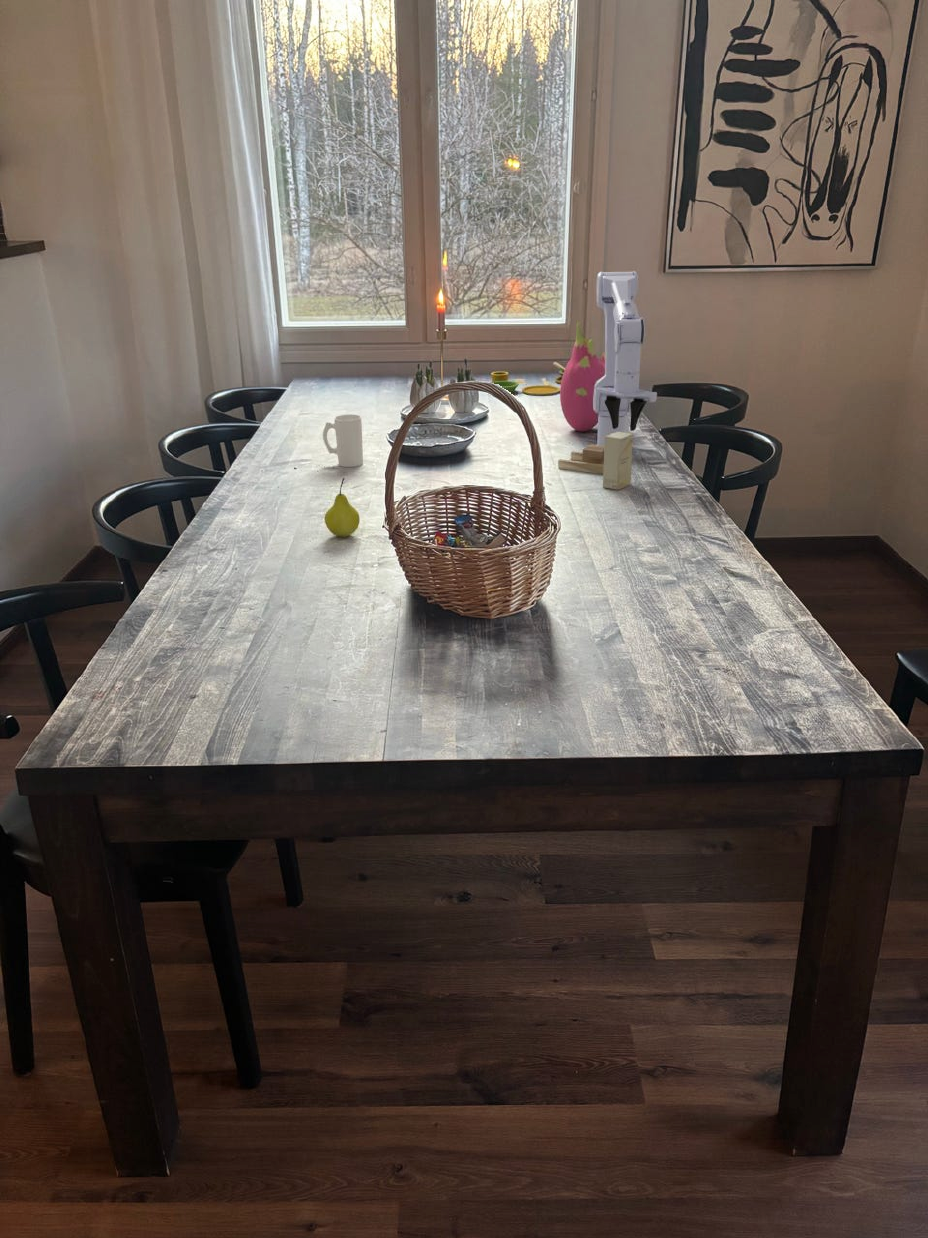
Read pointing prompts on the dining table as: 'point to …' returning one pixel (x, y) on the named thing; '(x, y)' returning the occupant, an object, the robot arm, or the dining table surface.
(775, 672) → the dining table surface
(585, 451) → the block
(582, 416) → the pitaya
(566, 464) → the light wooden stepped bars
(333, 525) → the fruit
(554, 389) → the tableware set
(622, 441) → the skincare box
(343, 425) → the mug
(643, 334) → the robot arm
